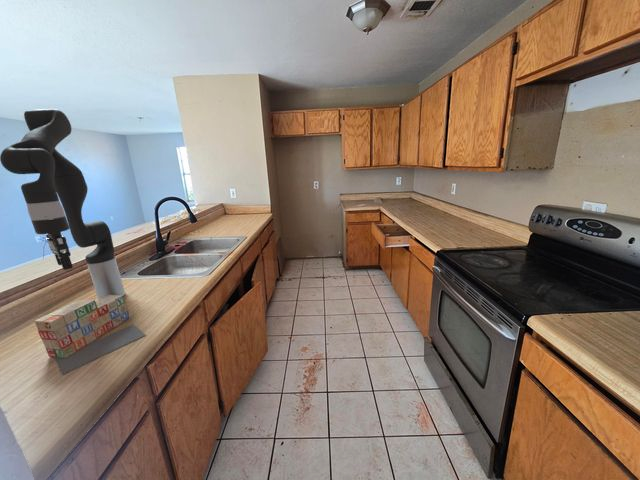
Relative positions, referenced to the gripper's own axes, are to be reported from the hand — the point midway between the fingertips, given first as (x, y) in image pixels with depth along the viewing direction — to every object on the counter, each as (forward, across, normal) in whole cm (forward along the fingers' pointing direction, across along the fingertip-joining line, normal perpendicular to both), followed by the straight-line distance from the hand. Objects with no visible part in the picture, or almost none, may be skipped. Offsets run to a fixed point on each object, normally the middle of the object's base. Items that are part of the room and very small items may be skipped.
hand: (65, 266), depth 84 cm
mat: (+23, +18, 0) cm, 29 cm away
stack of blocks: (+23, +8, 0) cm, 25 cm away
